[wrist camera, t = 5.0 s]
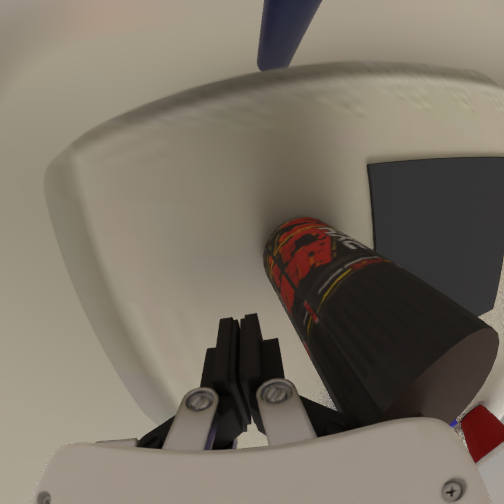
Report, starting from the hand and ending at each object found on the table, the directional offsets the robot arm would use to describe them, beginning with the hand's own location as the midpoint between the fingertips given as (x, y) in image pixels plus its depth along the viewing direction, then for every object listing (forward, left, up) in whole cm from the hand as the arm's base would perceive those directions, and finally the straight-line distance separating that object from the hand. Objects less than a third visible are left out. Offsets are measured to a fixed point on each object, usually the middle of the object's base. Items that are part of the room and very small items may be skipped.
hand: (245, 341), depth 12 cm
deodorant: (0, +4, -9) cm, 10 cm away
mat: (+3, +19, -9) cm, 21 cm away
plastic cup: (+41, +36, -9) cm, 55 cm away
